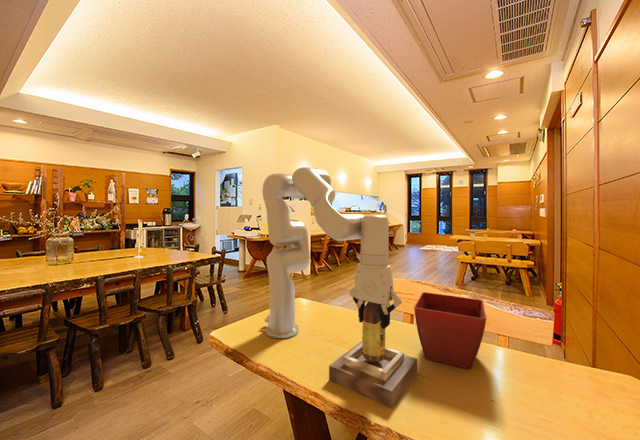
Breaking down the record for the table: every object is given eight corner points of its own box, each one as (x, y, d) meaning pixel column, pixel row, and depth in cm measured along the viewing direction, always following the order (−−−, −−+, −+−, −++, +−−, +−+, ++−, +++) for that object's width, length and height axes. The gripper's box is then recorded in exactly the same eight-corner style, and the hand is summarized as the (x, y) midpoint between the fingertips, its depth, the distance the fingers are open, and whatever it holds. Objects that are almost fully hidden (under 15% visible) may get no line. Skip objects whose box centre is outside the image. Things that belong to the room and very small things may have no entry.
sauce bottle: (385, 364, 74) (386, 290, 73) (361, 362, 75) (362, 289, 74) (384, 352, 80) (385, 284, 79) (362, 350, 82) (363, 283, 81)
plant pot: (482, 349, 93) (483, 299, 92) (485, 379, 76) (486, 318, 76) (422, 337, 102) (422, 291, 101) (412, 361, 85) (413, 307, 85)
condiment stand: (329, 379, 76) (329, 358, 76) (361, 353, 90) (361, 334, 90) (391, 408, 65) (391, 382, 65) (417, 372, 79) (417, 351, 79)
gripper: (340, 258, 79) (340, 320, 80) (399, 265, 68) (398, 337, 69) (354, 254, 85) (353, 313, 86) (410, 261, 74) (409, 327, 75)
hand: (373, 323), depth 77 cm, fingers closed on sauce bottle, 6 cm apart
